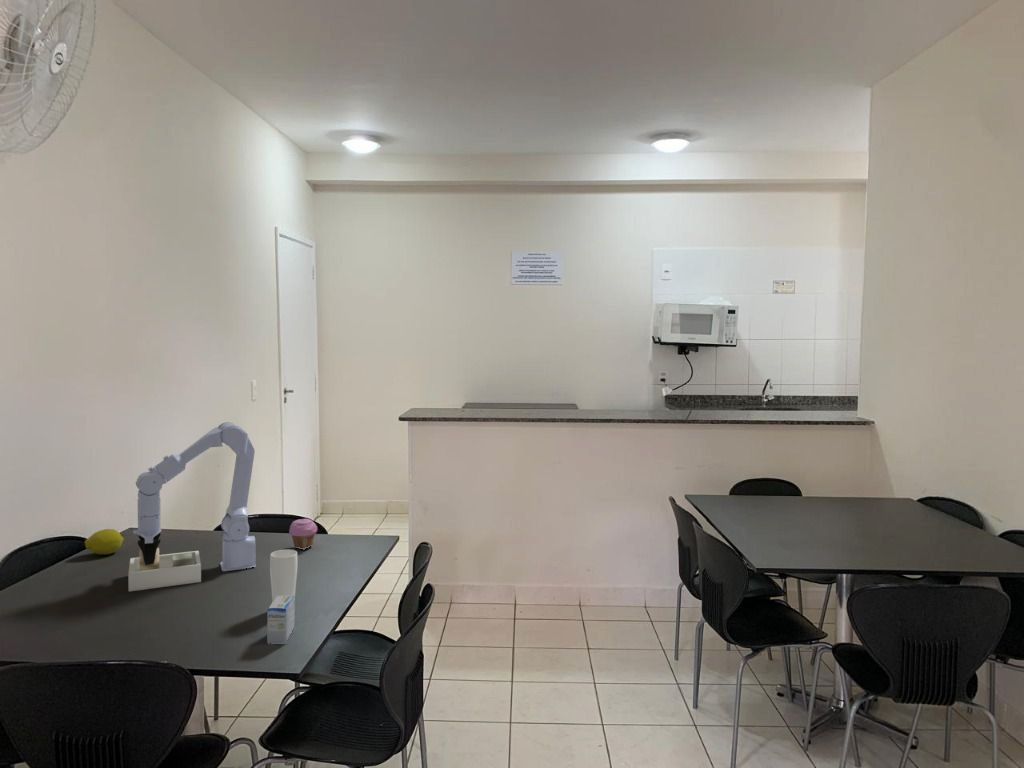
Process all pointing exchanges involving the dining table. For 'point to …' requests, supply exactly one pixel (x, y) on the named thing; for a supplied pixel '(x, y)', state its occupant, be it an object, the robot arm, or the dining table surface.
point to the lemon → (104, 542)
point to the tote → (164, 573)
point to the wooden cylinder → (152, 566)
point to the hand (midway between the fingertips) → (149, 561)
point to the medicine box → (281, 619)
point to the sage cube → (182, 560)
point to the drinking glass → (283, 572)
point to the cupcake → (303, 532)
